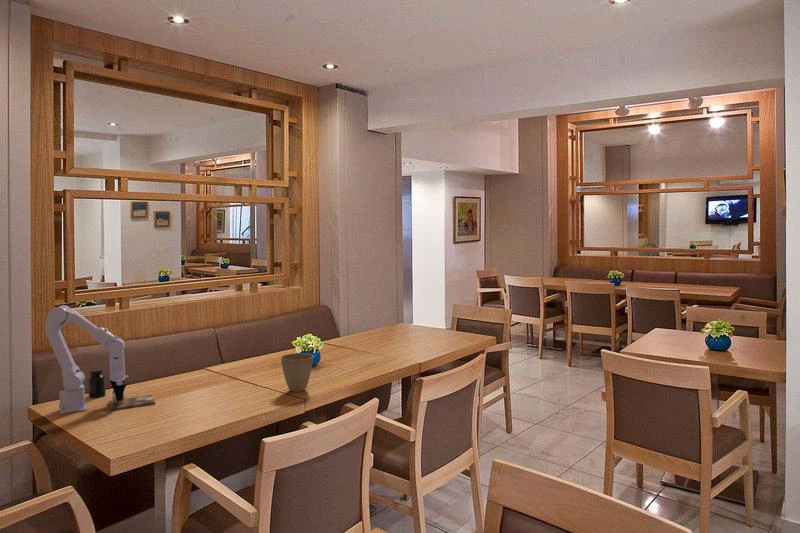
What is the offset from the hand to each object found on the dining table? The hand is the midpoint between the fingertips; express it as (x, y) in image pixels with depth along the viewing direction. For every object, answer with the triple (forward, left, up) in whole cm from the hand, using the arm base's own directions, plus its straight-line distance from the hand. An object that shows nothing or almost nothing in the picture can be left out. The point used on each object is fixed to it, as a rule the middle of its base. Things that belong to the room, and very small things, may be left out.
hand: (118, 398), depth 239 cm
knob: (0, 0, 0) cm, 0 cm away
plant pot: (+73, -21, -3) cm, 76 cm away
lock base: (+5, 0, -3) cm, 6 cm away
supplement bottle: (-7, +22, -3) cm, 23 cm away
